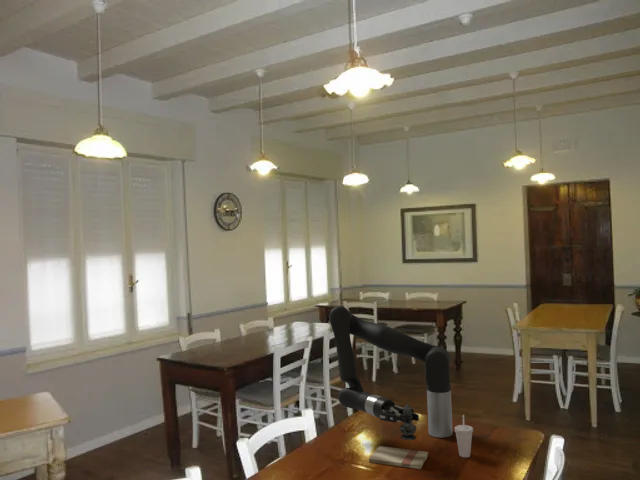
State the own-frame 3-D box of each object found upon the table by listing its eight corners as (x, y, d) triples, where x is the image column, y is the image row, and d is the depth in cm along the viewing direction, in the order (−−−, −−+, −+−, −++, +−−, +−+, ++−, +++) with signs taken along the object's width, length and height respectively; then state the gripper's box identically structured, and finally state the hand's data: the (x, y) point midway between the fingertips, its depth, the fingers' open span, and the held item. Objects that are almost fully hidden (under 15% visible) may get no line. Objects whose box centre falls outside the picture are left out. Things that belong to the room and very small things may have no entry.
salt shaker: (416, 441, 184) (415, 406, 184) (399, 440, 186) (398, 405, 185) (417, 434, 190) (416, 400, 190) (400, 433, 191) (399, 400, 191)
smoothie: (474, 452, 192) (473, 413, 192) (473, 459, 186) (472, 419, 186) (456, 450, 194) (454, 412, 194) (454, 458, 188) (453, 417, 188)
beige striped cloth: (379, 449, 198) (379, 445, 198) (428, 455, 191) (428, 451, 191) (369, 462, 187) (368, 458, 187) (420, 469, 180) (420, 465, 180)
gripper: (365, 400, 195) (398, 413, 181) (393, 393, 203) (427, 404, 190) (365, 421, 195) (399, 435, 181) (393, 413, 204) (428, 425, 190)
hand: (413, 419), depth 185 cm, fingers closed on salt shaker, 3 cm apart
